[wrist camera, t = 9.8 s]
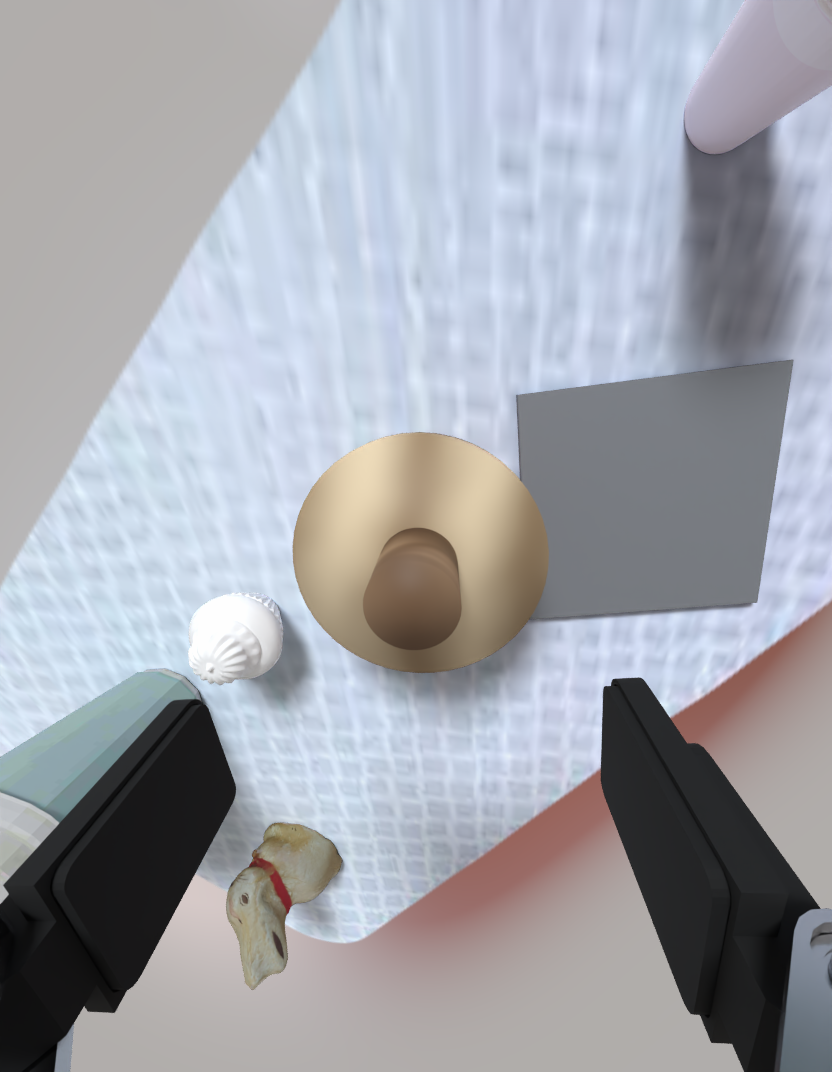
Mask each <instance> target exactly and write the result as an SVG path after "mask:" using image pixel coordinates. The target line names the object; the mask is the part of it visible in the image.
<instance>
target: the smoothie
mask: <svg viewBox="0 0 832 1072" xmlns="http://www.w3.org/2000/svg"><path fill="white" fill-rule="evenodd" d="M830 86H832V0H745V1H744V3H743V4H742V6H741V7H740V9H739V11H738V12H737V14H736V16H735V17H734V19H733V21H732V22H731V24H730V26H729V27H728V29H727V31H726V32H725V34H724V36H723V37H722V39H721V41H720V42H719V44H718V46H717V47H716V49H715V51H714V52H713V54H712V56H711V57H710V59H709V61H708V62H707V64H706V66H705V67H704V69H703V71H702V72H701V74H700V75H699V77H698V79H697V80H696V82H695V84H694V86H693V87H692V89H691V91H690V94H689V96H688V99H687V102H686V106H685V114H684V122H685V129H686V133H687V135H688V138H689V139H690V141H691V143H692V144H693V145H694V146H695V147H696V148H697V149H699V150H700V151H702V152H704V153H708V154H722V153H726V152H728V151H730V150H733V149H734V148H736V147H738V146H739V145H741V144H742V143H744V142H745V141H747V140H748V139H750V138H751V137H753V136H755V135H756V134H758V133H759V132H761V131H762V130H764V129H765V128H767V127H768V126H770V125H772V124H773V123H775V122H776V121H778V120H779V119H781V118H782V117H784V116H785V115H787V114H788V113H790V112H792V111H793V110H795V109H796V108H798V107H799V106H801V105H802V104H804V103H805V102H807V101H809V100H810V99H812V98H813V97H815V96H816V95H818V94H819V93H821V92H822V91H824V90H825V89H827V88H829V87H830Z"/></svg>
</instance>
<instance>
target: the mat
mask: <svg viewBox="0 0 832 1072" xmlns="http://www.w3.org/2000/svg"><path fill="white" fill-rule="evenodd" d="M792 366H793V360H786V361H778V362H771V363H763V364H755V365H747V366H740V367H732V368H724V369H716V370H709V371H701V372H693V373H685V374H677V375H670V376H662V377H654V378H646V379H639V380H631V381H623V382H615V383H607V384H600V385H592V386H584V387H576V388H569V389H561V390H553V391H545V392H538V393H530V394H522V395H516V396H517V418H518V441H519V463H520V481H521V482H522V483H523V484H524V486H525V487H526V488H527V489H528V491H529V493H530V494H531V496H532V498H533V499H534V501H535V503H536V504H537V507H538V509H539V511H540V514H541V516H542V519H543V522H544V526H545V529H546V533H547V539H548V548H549V563H548V573H547V578H546V584H545V587H544V590H543V593H542V596H541V599H540V601H539V603H538V605H537V607H536V609H535V611H534V613H533V614H532V616H531V617H530V619H529V620H531V619H544V618H557V617H571V616H584V615H597V614H611V613H624V612H637V611H651V610H664V609H678V608H691V607H704V606H718V605H731V604H744V603H757V600H758V593H759V587H760V580H761V573H762V567H763V560H764V553H765V547H766V540H767V533H768V527H769V520H770V513H771V507H772V500H773V493H774V486H775V480H776V473H777V466H778V460H779V453H780V446H781V440H782V433H783V426H784V420H785V413H786V406H787V400H788V393H789V386H790V380H791V373H792Z"/></svg>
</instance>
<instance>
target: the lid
mask: <svg viewBox="0 0 832 1072" xmlns="http://www.w3.org/2000/svg"><path fill="white" fill-rule="evenodd" d="M548 563H549V548H548V539H547V533H546V529H545V526H544V522H543V519H542V516H541V514H540V511H539V509H538V507H537V504H536V503H535V501H534V499H533V498H532V496H531V494H530V493H529V491H528V489H527V488H526V487H525V486H524V484H523V483H522V482H521V481H520V479H519V478H518V477H517V476H516V475H515V474H514V473H513V472H512V471H511V470H510V469H509V468H508V467H507V466H506V465H505V464H504V463H503V462H501V461H500V460H499V459H497V458H496V457H495V456H493V455H492V454H490V453H489V452H487V451H486V450H484V449H482V448H480V447H478V446H476V445H474V444H472V443H470V442H467V441H464V440H461V439H459V438H456V437H452V436H447V435H442V434H437V433H424V432H415V433H401V434H396V435H391V436H386V437H383V438H380V439H377V440H374V441H372V442H369V443H367V444H365V445H363V446H361V447H359V448H357V449H355V450H353V451H351V452H350V453H348V454H347V455H345V456H344V457H342V458H341V459H340V460H338V461H337V462H335V463H334V464H333V465H332V466H331V467H330V468H329V469H328V470H327V471H326V472H325V473H324V474H323V475H322V476H321V477H320V478H319V480H318V481H317V482H316V483H315V485H314V486H313V487H312V489H311V491H310V492H309V494H308V496H307V497H306V499H305V501H304V503H303V505H302V508H301V510H300V513H299V515H298V519H297V523H296V527H295V531H294V539H293V564H294V570H295V575H296V579H297V583H298V586H299V589H300V592H301V594H302V596H303V599H304V601H305V603H306V605H307V607H308V608H309V610H310V612H311V613H312V615H313V616H314V618H315V619H316V620H317V622H318V623H319V624H320V625H321V627H322V628H323V629H324V630H325V631H326V632H327V633H328V634H329V635H330V636H331V637H332V638H333V639H334V640H335V641H336V642H338V643H339V644H340V645H342V646H343V647H344V648H346V649H347V650H349V651H350V652H352V653H354V654H355V655H357V656H359V657H360V658H363V659H365V660H367V661H369V662H371V663H374V664H376V665H380V666H383V667H386V668H389V669H394V670H399V671H404V672H415V673H434V672H442V671H449V670H453V669H457V668H461V667H465V666H467V665H470V664H473V663H476V662H478V661H480V660H482V659H484V658H486V657H488V656H490V655H492V654H493V653H494V652H496V651H497V650H499V649H500V648H502V647H503V646H505V645H506V644H507V643H508V642H509V641H510V640H511V639H513V638H514V637H515V636H516V635H517V634H518V632H519V631H520V630H521V629H522V628H523V627H524V626H525V624H526V623H527V621H528V620H529V619H530V617H531V616H532V614H533V613H534V611H535V609H536V607H537V605H538V603H539V601H540V599H541V596H542V593H543V590H544V587H545V584H546V578H547V573H548Z"/></svg>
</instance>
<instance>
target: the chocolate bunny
mask: <svg viewBox="0 0 832 1072" xmlns="http://www.w3.org/2000/svg"><path fill="white" fill-rule="evenodd" d="M252 857H253V860H252V862H251V864H250V865H249V867H248V868H246V869H244V870H243V871H242V872H241V873H240V874H239V875H238V876H237V877H236V879H235V880H234V881H233V882H232V884H231V886H230V888H229V891H228V895H227V902H226V911H227V917H228V920H229V922H230V924H231V926H232V927H233V929H234V931H235V933H236V935H237V938H238V940H239V944H240V955H241V961H242V966H243V971H244V977H245V982H246V984H247V985H248V986H249V987H250V988H251V990H254V989H255V988H256V987H257V986H258V985H259V984H260V983H261V982H262V981H263V980H264V979H266V978H267V977H268V976H270V975H272V974H277V973H281V972H282V971H283V970H284V969H285V967H286V963H287V960H288V953H287V942H286V935H285V918H286V915H287V914H288V913H289V910H290V907H291V906H292V905H294V904H296V903H305V902H308V901H311V900H313V899H314V898H316V897H317V896H318V895H319V894H320V893H321V892H322V891H323V890H324V888H325V887H326V886H327V884H328V882H329V881H330V880H331V879H332V878H333V877H334V876H336V875H337V873H338V872H339V870H340V867H341V863H342V858H341V857H340V856H339V855H338V854H337V851H336V848H335V847H334V845H333V843H332V842H331V841H330V840H328V839H326V838H324V837H323V836H322V835H321V834H319V833H318V832H316V831H315V830H312V829H310V828H307V827H305V826H303V825H299V824H289V823H274V824H272V825H270V826H269V827H268V829H267V830H266V831H265V834H264V842H263V843H262V844H261V845H260V846H259V848H258V849H257V850H254V851H253V853H252Z"/></svg>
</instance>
